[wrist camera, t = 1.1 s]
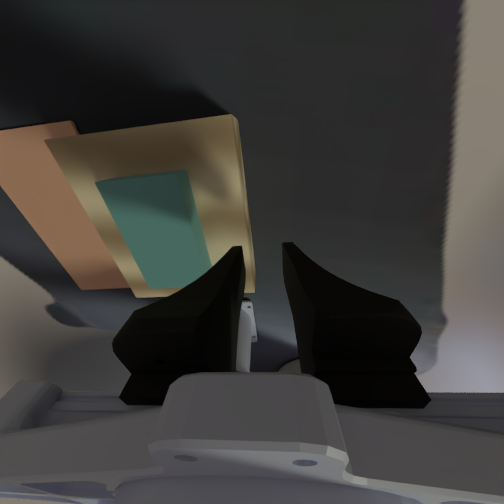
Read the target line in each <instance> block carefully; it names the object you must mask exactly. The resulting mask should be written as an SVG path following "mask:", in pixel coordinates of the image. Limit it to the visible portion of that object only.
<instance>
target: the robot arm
mask: <svg viewBox="0 0 504 504" xmlns="http://www.w3.org/2000/svg"><path fill="white" fill-rule="evenodd" d="M282 256H283V276H284V283H285V287H286V291H287V295H288V299H289V303H290V307H291V311H292V315H293V320H294V326H295V333H296V339H297V347H298V354H299V361H300V368H301V373H295V372H250V359H251V342H257V332H256V325H255V319H254V312H253V305H252V301H250V300H244V301H243V296H244V290H245V283H246V268H245V262H244V255H243V249H242V246H232V247H231V248H230V249H229V250H228V251H227V253H226V254H225V255H224V256H223V257H222V258H221V259H220V260H219V261H218V262H217V263H216V264H215V265H214V266H212V267H211V268H210V269H209V270H208V271H207V272H206V273H204V274H203V275H202V276H200V277H199V278H198V279H196V280H195V281H194V282H192V283H190V284H189V285H187V286H186V287H184V288H182V289H181V290H179V291H177V292H175V293H173V294H172V295H170V296H168V297H166V298H164V299H162V300H159V301H157V302H155V303H153V304H150V305H148V306H145V307H143V308H141V309H138V310H136V311H134V312H133V313H132V315H131V316H130V317H129V319H128V320H127V321H126V323H125V324H124V325H123V327H122V328H121V330H120V331H119V332H118V334H117V335H116V336H115V338H114V339H113V342H112V347H113V351H114V353H115V355H116V356H117V357H118V359H119V360H120V361H121V362H122V363H123V364H124V366H125V367H126V368H127V369H128V370H129V371H130V373H131V376H130V378H129V380H128V382H127V383H126V385H125V387H124V389H123V390H122V391H62V389H61V388H60V387H59V386H58V385H56V384H55V383H53V382H49V381H44V380H26V381H25V380H23V381H19V382H17V383H16V384H15V385H14V386H13V387H12V388H11V389H10V391H8V392H7V393H6V394H5V395H4V396H3V397H2V398H1V400H0V497H4V498H17V499H29V500H41V501H51V502H61V503H71V504H504V393H427V392H426V391H425V389H424V388H423V386H422V385H421V383H420V382H419V380H418V379H417V377H416V375H415V374H414V372H416V371H417V369H416V366H415V365H414V363H413V362H412V361H411V359H410V358H409V357H410V356H411V354H412V352H413V351H414V349H415V347H416V346H417V344H418V342H419V340H420V337H421V334H422V331H421V326H420V325H419V324H418V322H417V321H416V320H415V318H414V317H413V316H412V315H411V314H410V312H409V311H408V310H407V309H406V308H405V307H404V306H403V305H402V304H401V303H400V302H399V300H395V299H392V298H389V297H386V296H383V295H380V294H377V293H374V292H371V291H368V290H366V289H363V288H361V287H358V286H356V285H353V284H351V283H349V282H347V281H345V280H343V279H341V278H339V277H337V276H335V275H333V274H331V273H330V272H328V271H327V270H325V269H323V268H322V267H320V266H319V265H318V264H316V263H315V262H314V261H312V260H311V259H310V258H309V257H307V256H306V255H305V254H304V253H303V252H302V251H301V250H300V249H299V248H298V247H297V246H296V245H295V244H294V243H293V242H287V243H282Z"/></svg>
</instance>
